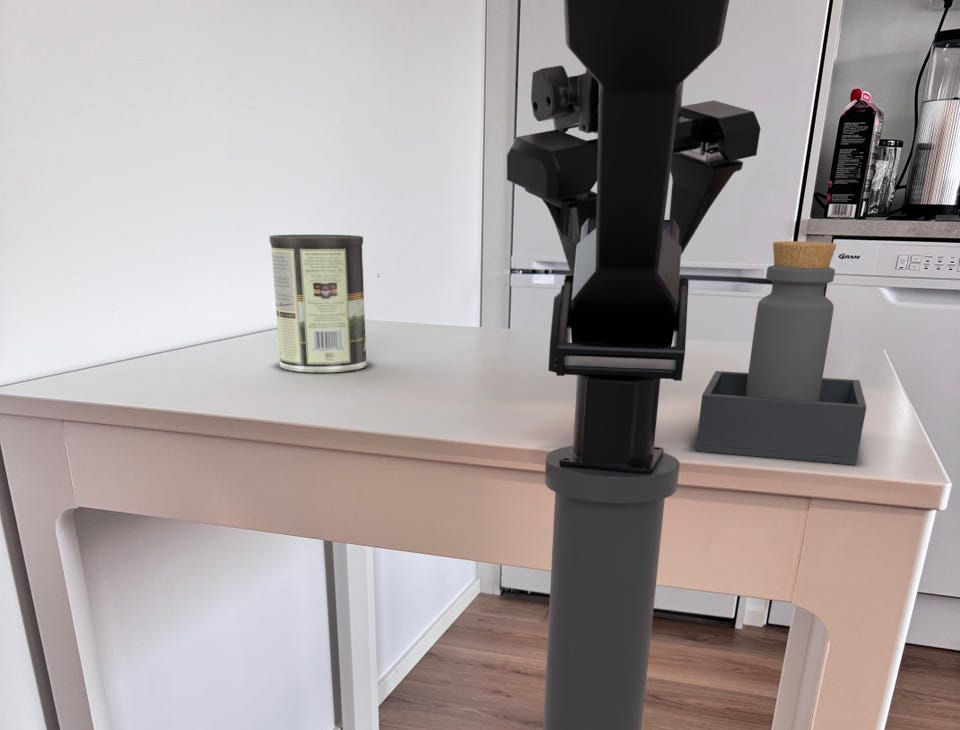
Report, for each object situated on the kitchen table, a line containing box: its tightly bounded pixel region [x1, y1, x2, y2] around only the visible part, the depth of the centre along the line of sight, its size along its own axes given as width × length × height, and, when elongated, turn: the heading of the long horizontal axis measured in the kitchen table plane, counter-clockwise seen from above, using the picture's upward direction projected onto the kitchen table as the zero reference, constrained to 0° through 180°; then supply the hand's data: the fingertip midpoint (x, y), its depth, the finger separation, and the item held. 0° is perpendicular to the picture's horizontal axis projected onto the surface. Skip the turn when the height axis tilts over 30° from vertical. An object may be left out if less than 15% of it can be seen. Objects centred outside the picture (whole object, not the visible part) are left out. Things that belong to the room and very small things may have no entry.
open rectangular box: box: [695, 370, 867, 466], centre depth 79 cm, size 12×12×4 cm
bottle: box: [746, 240, 837, 402], centre depth 77 cm, size 6×6×15 cm
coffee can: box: [269, 234, 368, 374], centre depth 108 cm, size 10×10×14 cm
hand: (627, 268), depth 73 cm, fingers open, 9 cm apart
